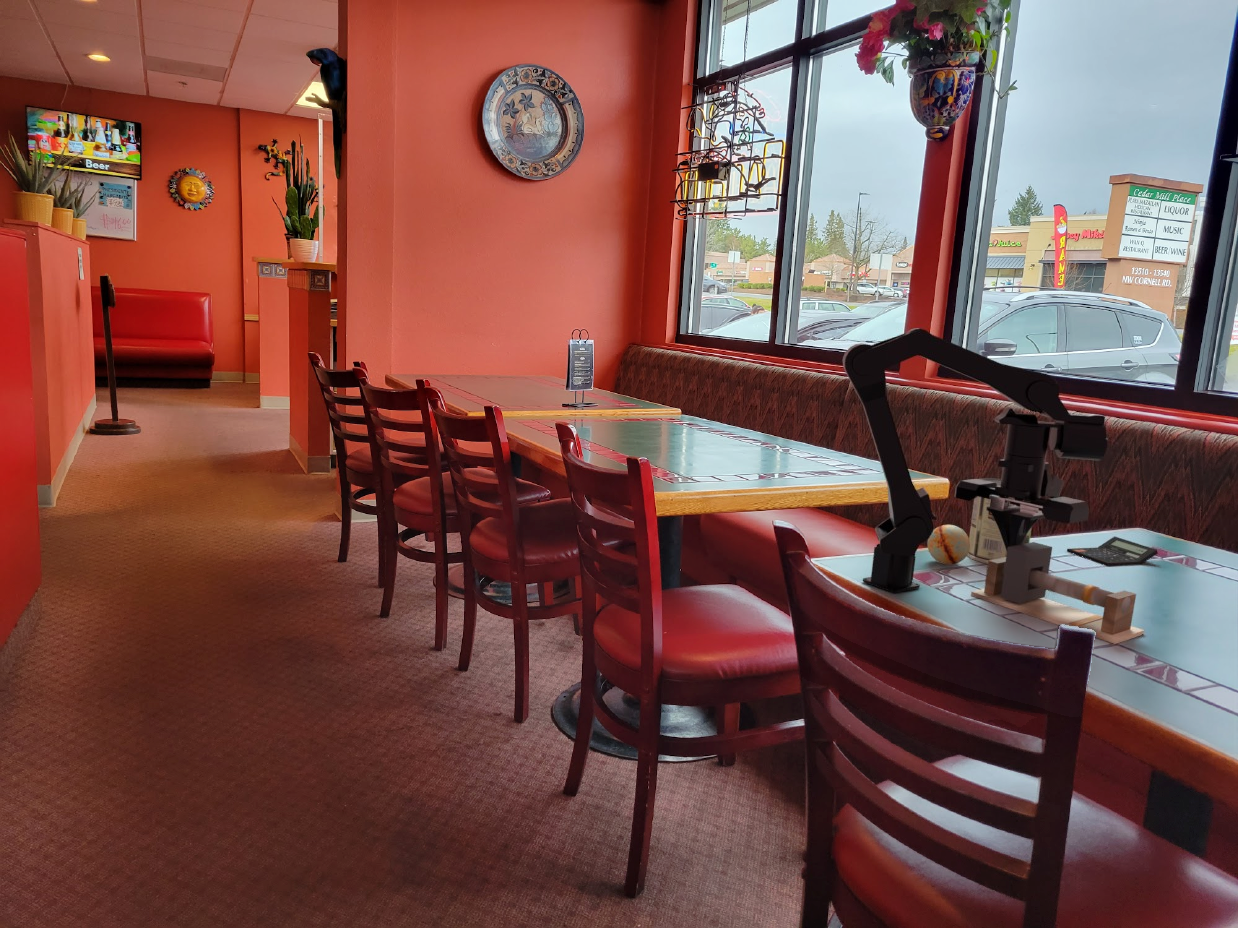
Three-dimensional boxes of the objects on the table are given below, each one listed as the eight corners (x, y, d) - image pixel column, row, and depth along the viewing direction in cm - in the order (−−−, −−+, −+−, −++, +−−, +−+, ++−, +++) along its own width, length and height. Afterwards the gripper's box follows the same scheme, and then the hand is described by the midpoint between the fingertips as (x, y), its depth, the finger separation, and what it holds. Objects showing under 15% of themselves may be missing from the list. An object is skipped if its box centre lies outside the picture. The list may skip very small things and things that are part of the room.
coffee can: (1019, 554, 161) (1029, 480, 158) (1033, 570, 151) (1045, 491, 148) (961, 548, 163) (970, 475, 160) (971, 563, 153) (982, 486, 150)
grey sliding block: (1044, 597, 132) (1052, 546, 131) (1019, 603, 129) (1026, 552, 127) (1026, 591, 135) (1033, 541, 133) (1000, 597, 131) (1007, 546, 130)
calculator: (1066, 552, 165) (1068, 537, 165) (1113, 550, 169) (1116, 536, 168) (1107, 567, 156) (1109, 551, 156) (1155, 565, 160) (1158, 549, 159)
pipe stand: (1143, 634, 121) (1150, 594, 120) (1115, 643, 117) (1121, 602, 116) (1000, 588, 139) (1005, 553, 138) (970, 595, 135) (975, 559, 134)
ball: (973, 564, 152) (978, 526, 151) (959, 572, 147) (964, 532, 146) (933, 555, 157) (938, 518, 155) (919, 562, 151) (923, 524, 150)
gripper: (1115, 462, 127) (1099, 563, 130) (999, 443, 142) (987, 534, 145) (1075, 467, 121) (1060, 573, 124) (958, 446, 136) (946, 541, 139)
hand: (1011, 554), depth 133 cm, fingers closed
